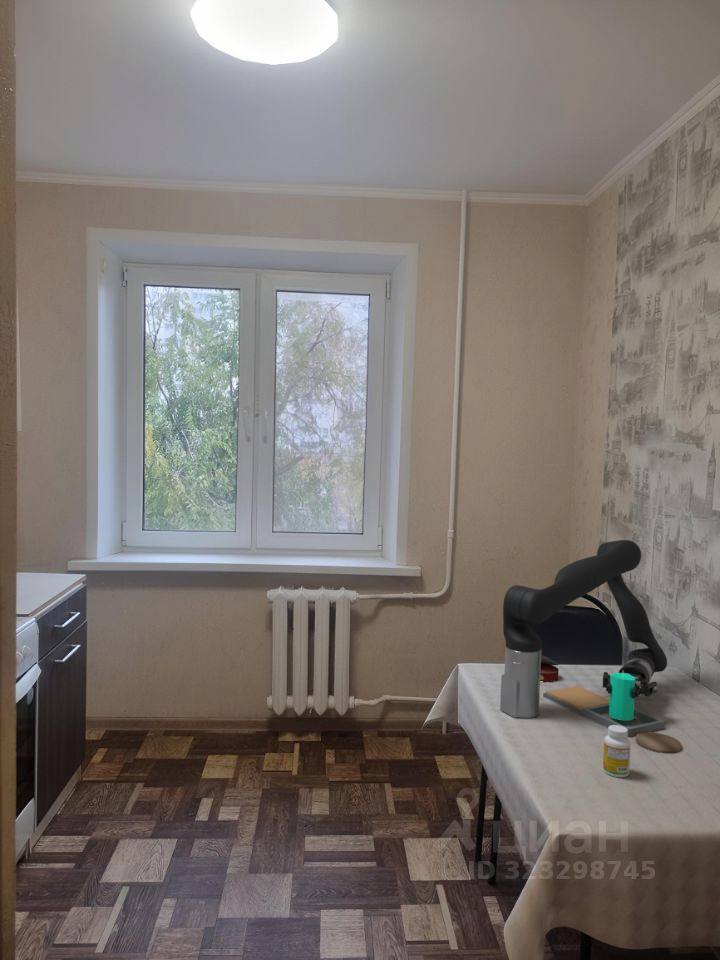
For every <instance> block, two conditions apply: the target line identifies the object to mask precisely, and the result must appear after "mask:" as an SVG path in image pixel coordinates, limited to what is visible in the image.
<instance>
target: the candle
mask: <svg viewBox="0 0 720 960" xmlns="http://www.w3.org/2000/svg"><path fill="white" fill-rule="evenodd" d="M610 676H611V677H610V684H611V685H612V686H611V694H610V693H609V699H610V700H609V712H608V715H609V717H611V718H612V719H615V720H619V721H625V722H626V721H627V722H628V721H633V720H634V718H635V717H634V709H635V699H633V698H632V690H633V689H634V687H635V677H633V676H631V675H630V674H627V673H618V672H615V673H612V674H610Z"/></svg>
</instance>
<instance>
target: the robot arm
mask: <svg viewBox="0 0 720 960" xmlns="http://www.w3.org/2000/svg"><path fill="white" fill-rule="evenodd" d="M641 560H642V550H641V548H640V546H639V545H638V544H637V543H636V542H634V541H632V540H628V539H619V540H614V541H608V542H603V543H601V544H600V545H599V546H598V548H597V551H596V555H593V556H588V557H584V558H582V559H579V560H576V561H573V562H571V563H569V564H567V565H565V566H564V567H562V568H561V569H559V570H558V572H557V573H556V575H555V577H554V580H553V581H554V583H553V584H551V585H549V586H546V587H545V588H541V589H539V588H532V587H527V586H524V585H512V586H511V587H509V588H508V589H507V591H506V593H505V594H504V597H503V598H504V599H503V604H502V617H503V619H502V622H503V623H502V625H503V626H502V627H503V630H502V631H503V636H504V640H505V649H504V650H505V651H504V653H505V654H504V674H502V675H501V678H500V680H501V681H500V701H499V702H500V704H499V706H500V708H499V711H501V712H503V713H506V714H507V715H509V716H511V717H513V718H523V719H525V718H526V719H527V718H528V719H529V718H535V717H537V716H539V714H540V713H539V711H540V710H539V709H540V694H541V693H540V692H541V691H540V690H541V689H540V688H541V682H540V670H541V655H542V639H541V636H539V635H538V634H537V633H535V631H534V630H533V629H532V628H531V626H530V625H532V626H533V625H535V626H536V625H540V624H542V623H544V622H545V621H547V620H548V619H550V618H552V616H553V615H555V614H556V613H557V612H558V611H560V610H561V609H563V608H564V607H566V606H567V605H569V604H571V603H573V602H574V601H575V600H578V599H580V598H582V597H584V596H585V595H587V594H589V593H591V592H592V591H594V590H595V589H597V588H599V587H601V586H602V585H604V584H605V583H607V586H608V588H609V590H610V592H611V594H612V596H613V599H614V600H615V602H616V605H617V607H618V610H619V612H620V615H621V619H622V622H623V623H622V624H623V626H624V629H625V632H626V633H625V634H626V636H627V638H628V640H629V641H630V642H632V643H637V644H642V645H643V644H644V646H646V647H645V648H644V647H643V648H637V649H633V650H630V651H629V653H628V656H627V659H628V660H627V662H625V664H624V665H622V667H621V668H620V669H619V670H618V672H617V673H627V674H630V675H631V676H633V677H635V687H634V689H633V690H632V698H633V699H634V700H635V699H636V698H639V697H641V696H642V695H643V696H644V697H646V698H649V697H650V696H652V695H654V694H656V693H657V691H658V689H657V688H658V682H657V681H652V682H651V679H652V677H653V676H654V673H658V672H659V673H661V672H663V671H665V670H666V669H667V668H668V667H667V666H668V658H667V655H666V654H665V652H664V650H663V648H662V647H661V645H660V644H659V642H658V641H657V639H656V637H655V635H654V633H653V631H652V627H651V624H650V621H649V617H648V614H647V611H646V608H644V606H643V604H642V602H641V601H640V599H638V598H637V597H636V596H635V595H634V594H633V592H632V591H631V590H630V589H629V587H628V586H627V584H626V582H625V580H624V579H623V578H624V577H623V575H622V574H625V573H627V572H631V571H634V570H635V569H636V568H638V566H639V564H640V563H641ZM610 677H611V674H610V673H609V672H607V671H603V676H602V688H604V689H605V691H606V692H607V694H609V695H610V694H611V686H612V685H611V684H610Z"/></svg>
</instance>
